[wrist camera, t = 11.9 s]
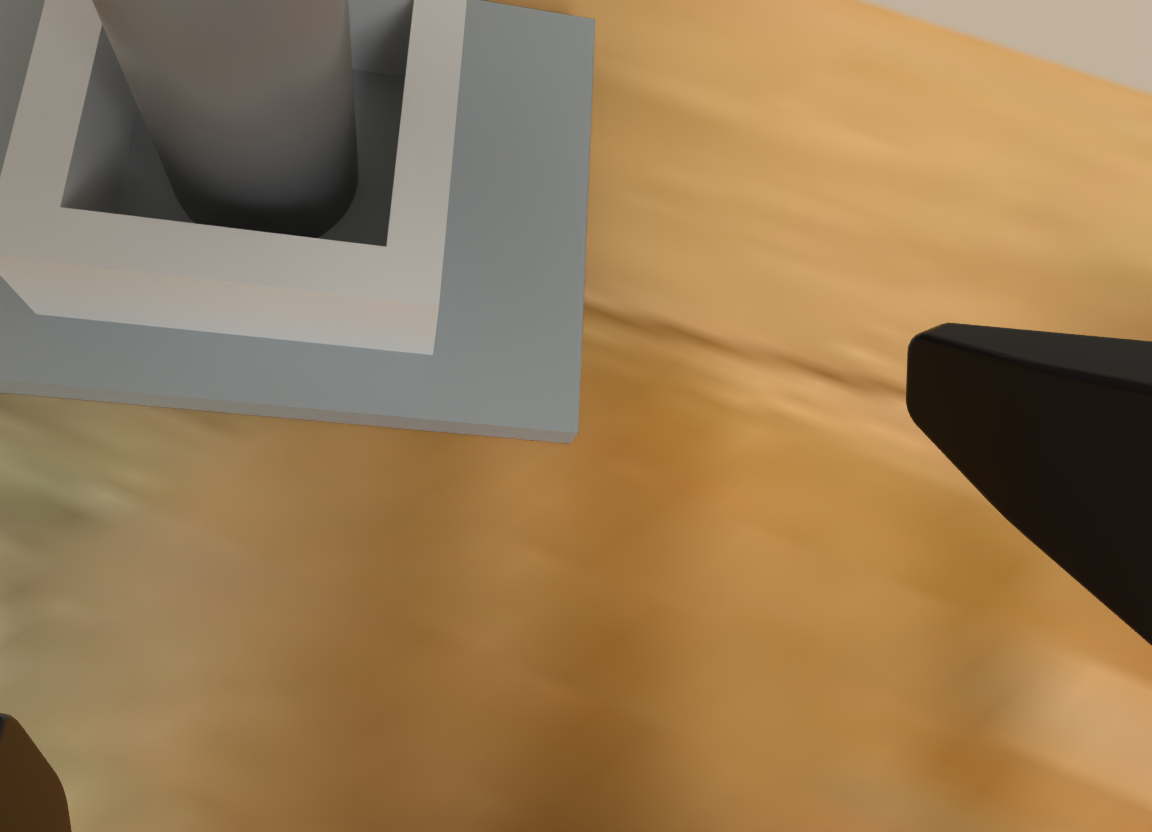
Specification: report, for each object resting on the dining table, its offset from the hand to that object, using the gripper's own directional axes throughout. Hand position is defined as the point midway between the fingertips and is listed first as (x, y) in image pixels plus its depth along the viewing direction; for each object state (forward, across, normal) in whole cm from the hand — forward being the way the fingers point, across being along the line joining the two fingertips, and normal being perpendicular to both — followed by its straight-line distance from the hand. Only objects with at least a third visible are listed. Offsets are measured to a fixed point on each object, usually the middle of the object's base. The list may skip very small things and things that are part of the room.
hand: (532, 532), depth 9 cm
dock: (+18, 0, +1) cm, 18 cm away
